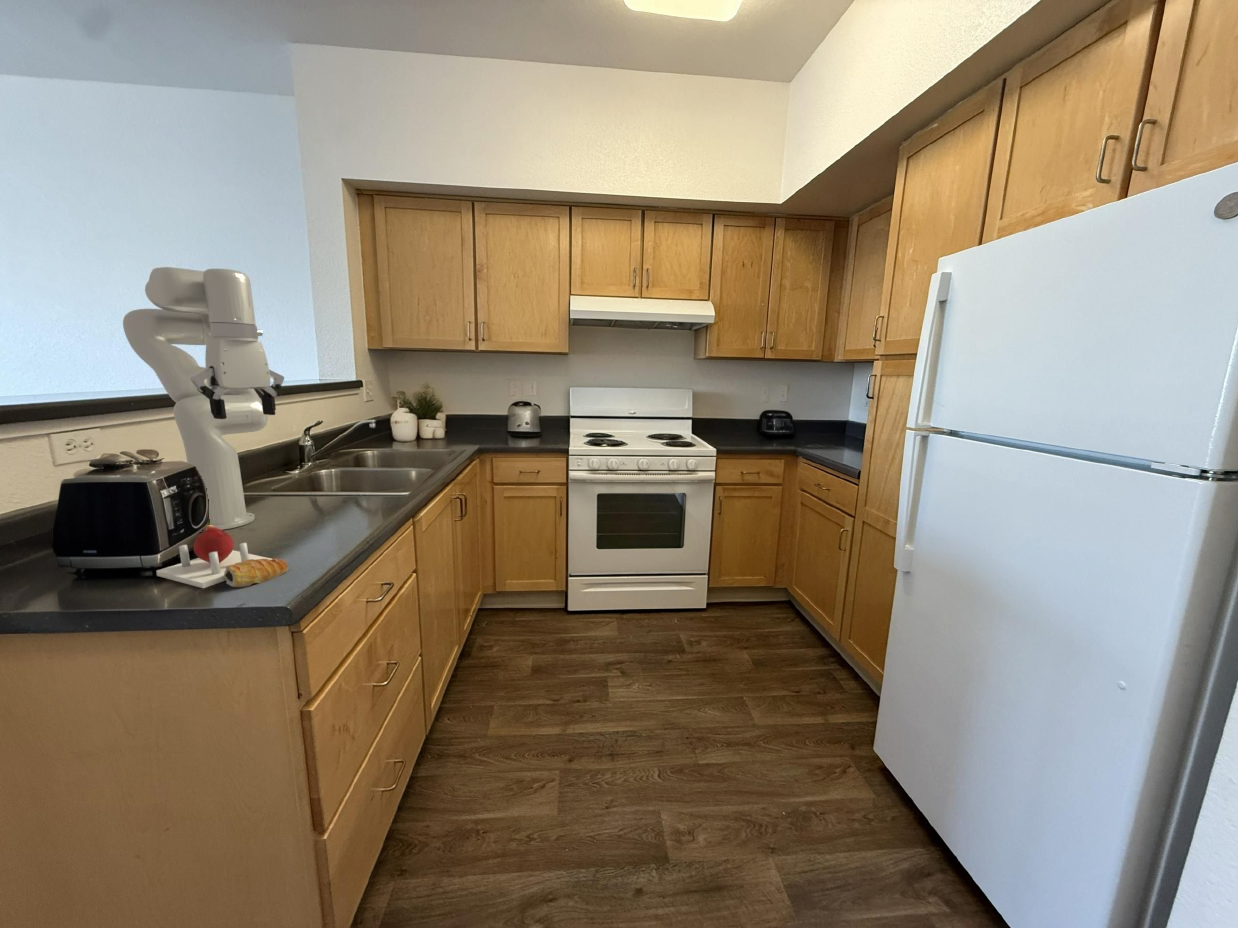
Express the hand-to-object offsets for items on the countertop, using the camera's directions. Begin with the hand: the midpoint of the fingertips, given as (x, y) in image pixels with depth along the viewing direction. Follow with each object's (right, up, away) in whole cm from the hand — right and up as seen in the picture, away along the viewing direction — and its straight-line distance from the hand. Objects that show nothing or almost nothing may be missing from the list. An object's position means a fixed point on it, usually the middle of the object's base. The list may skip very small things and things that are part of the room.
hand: (245, 416), depth 103 cm
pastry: (+12, -32, -14) cm, 37 cm away
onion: (+2, -30, -10) cm, 31 cm away
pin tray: (+2, -30, -10) cm, 32 cm away
